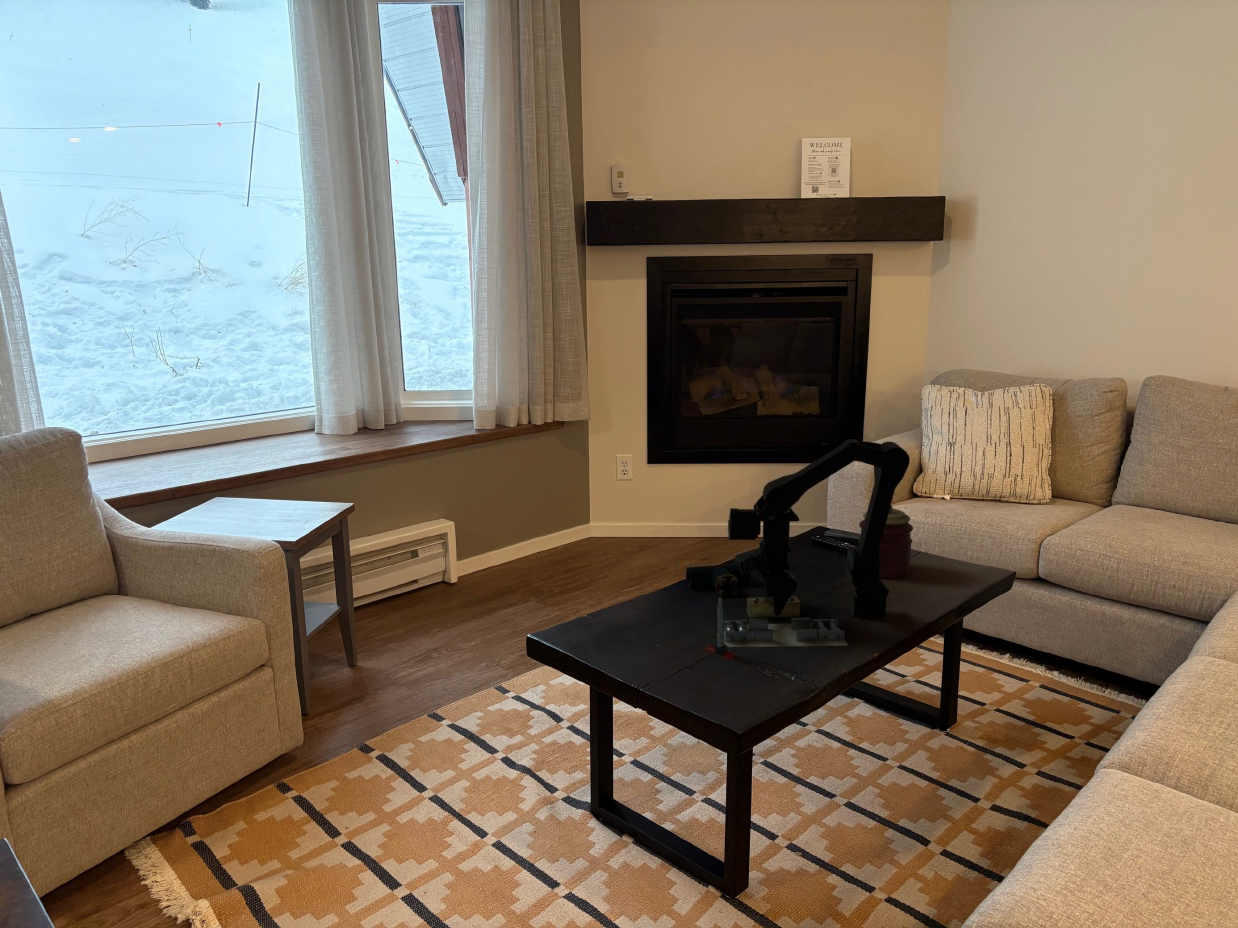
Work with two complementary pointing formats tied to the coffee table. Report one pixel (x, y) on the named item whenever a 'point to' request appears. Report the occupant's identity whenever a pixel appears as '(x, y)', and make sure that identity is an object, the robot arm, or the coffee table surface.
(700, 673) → the coffee table surface
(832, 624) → the chain end
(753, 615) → the tapered knobbed panel
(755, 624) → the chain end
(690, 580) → the pipe connector
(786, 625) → the board
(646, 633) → the coffee table surface
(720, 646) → the gray post stand
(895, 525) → the canister
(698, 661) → the coffee table surface
